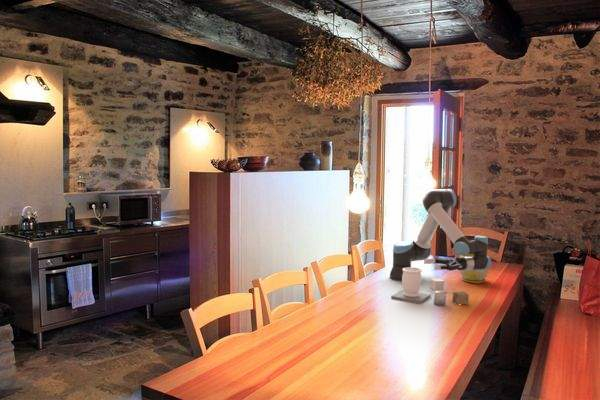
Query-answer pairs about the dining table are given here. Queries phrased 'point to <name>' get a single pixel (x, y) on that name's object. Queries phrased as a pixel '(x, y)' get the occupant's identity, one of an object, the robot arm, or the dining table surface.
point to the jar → (411, 281)
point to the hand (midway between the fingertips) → (429, 264)
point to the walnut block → (460, 297)
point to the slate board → (418, 299)
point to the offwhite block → (437, 284)
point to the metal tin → (440, 298)
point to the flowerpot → (473, 273)
